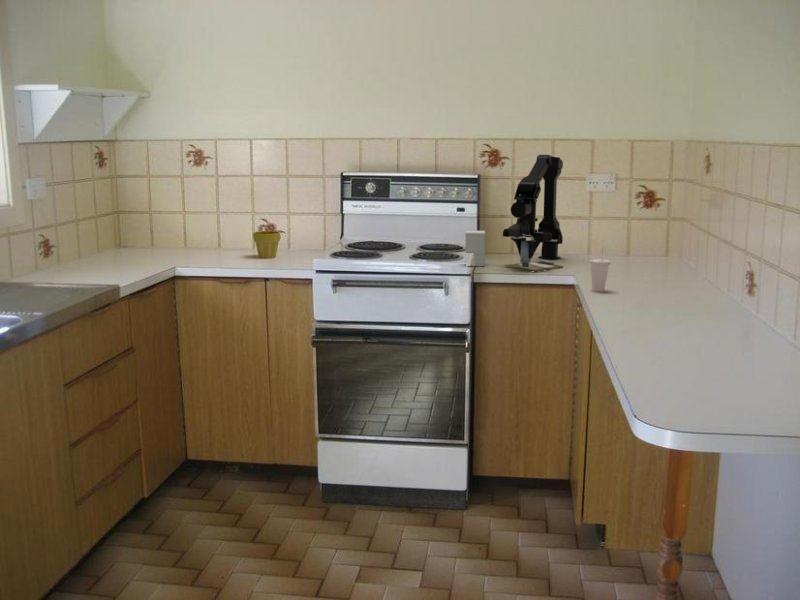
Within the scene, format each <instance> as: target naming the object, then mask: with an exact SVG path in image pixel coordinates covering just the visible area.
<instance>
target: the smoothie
mask: <svg viewBox="0 0 800 600" xmlns="http://www.w3.org/2000/svg"><path fill="white" fill-rule="evenodd" d="M603 253H604V247H602V246H601V248H600V258H597V259H596V258H595V259H594V258H593V259H590V260H589V264H590V270H591V271H590V274H591V286H592V287H591V288H592V289H591V290H592V291H593V292H600V293H603V292H605V289H606V284H607V279H608V278H607V277H608V275H609V274H608V273H609V267H610V265H611V260H608V259H603Z"/></svg>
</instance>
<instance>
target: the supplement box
mask: <svg viewBox="0 0 800 600" xmlns="http://www.w3.org/2000/svg"><path fill="white" fill-rule="evenodd" d="M464 253H473V254H474V262H475V266H474V267H485V263H486V230H466V231H465V251H464Z"/></svg>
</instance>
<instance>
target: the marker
mask: <svg viewBox="0 0 800 600" xmlns="http://www.w3.org/2000/svg"><path fill="white" fill-rule="evenodd" d="M527 241H528V240H527V239H526V240H522V241H521V257H520V258H519V259H520V263H522V266H523V267H528V266H529V263H531V262H532V258H531V259H529V244H528V242H527Z"/></svg>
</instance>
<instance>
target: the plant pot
mask: <svg viewBox="0 0 800 600" xmlns="http://www.w3.org/2000/svg"><path fill="white" fill-rule="evenodd" d="M252 233H253V236H252V238H253V242H254V243H255V246H256V250H257V255H258V257H259V258H260V259H273V258H276V257H277V253H278V247H279V242H280V241H281V232H280V231H277V230H259V231H258V230H256V231H254V232H252Z"/></svg>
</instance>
